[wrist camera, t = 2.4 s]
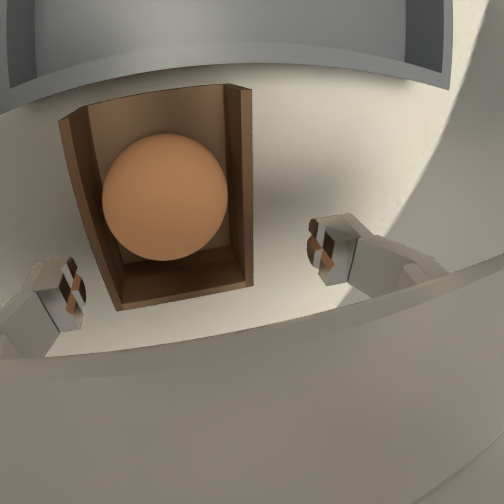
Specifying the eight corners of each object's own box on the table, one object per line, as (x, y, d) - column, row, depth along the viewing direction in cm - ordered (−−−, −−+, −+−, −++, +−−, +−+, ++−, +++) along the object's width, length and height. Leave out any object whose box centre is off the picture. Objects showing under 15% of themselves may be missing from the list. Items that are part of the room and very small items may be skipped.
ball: (125, 256, 14) (103, 287, 9) (109, 154, 13) (78, 137, 8) (224, 238, 15) (248, 261, 10) (211, 137, 14) (229, 111, 9)
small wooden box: (119, 265, 16) (116, 311, 13) (82, 106, 11) (58, 120, 8) (235, 245, 17) (253, 285, 15) (229, 83, 12) (252, 89, 9)
